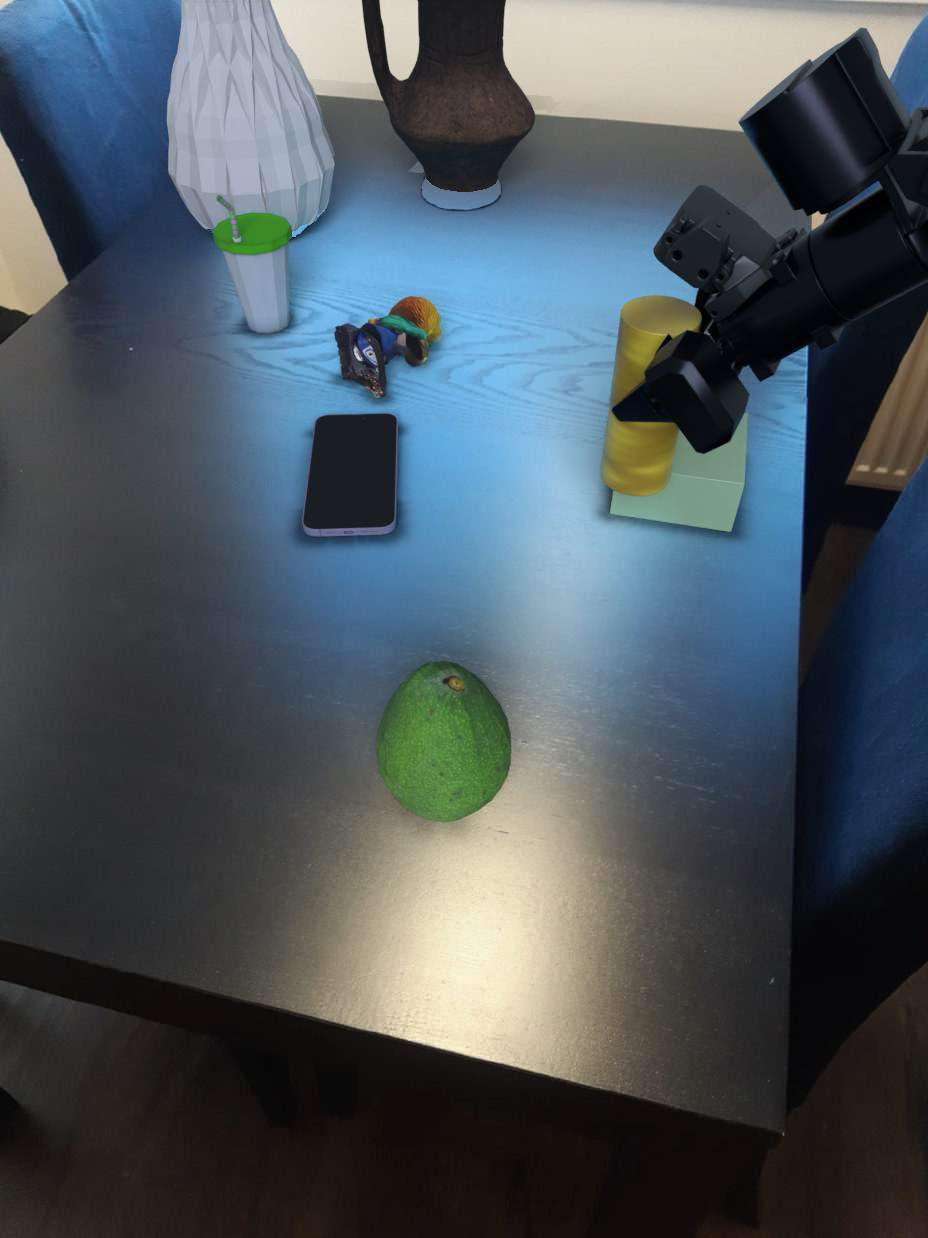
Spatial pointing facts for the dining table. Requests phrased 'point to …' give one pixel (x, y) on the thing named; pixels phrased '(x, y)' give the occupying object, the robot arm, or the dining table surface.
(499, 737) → the fruit
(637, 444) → the yellow tumbler
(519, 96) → the jug
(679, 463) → the green block
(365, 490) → the smartphone
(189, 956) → the dining table surface
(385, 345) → the figurine
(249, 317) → the cup
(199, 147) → the vase
